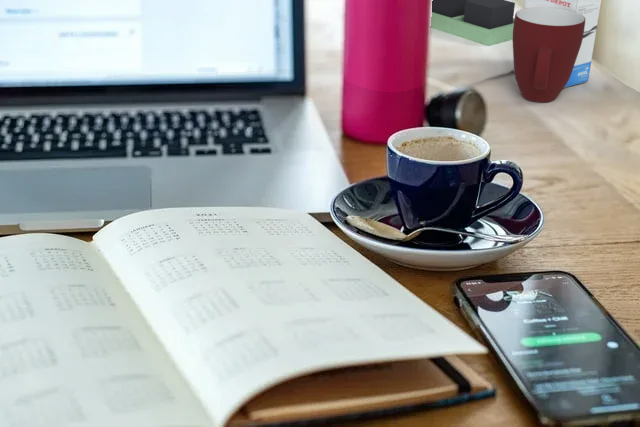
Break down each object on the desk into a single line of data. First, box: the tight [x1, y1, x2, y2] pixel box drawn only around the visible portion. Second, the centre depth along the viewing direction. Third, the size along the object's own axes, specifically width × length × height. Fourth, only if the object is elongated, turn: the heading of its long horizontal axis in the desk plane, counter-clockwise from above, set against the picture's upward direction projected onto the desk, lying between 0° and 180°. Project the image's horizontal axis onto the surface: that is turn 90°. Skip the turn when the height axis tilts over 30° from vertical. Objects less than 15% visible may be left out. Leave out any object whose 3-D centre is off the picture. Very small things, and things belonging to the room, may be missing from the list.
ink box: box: [523, 0, 602, 89], centre depth 111 cm, size 8×5×12 cm, turn 34°
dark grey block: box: [464, 0, 516, 30], centre depth 127 cm, size 5×5×4 cm
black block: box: [432, 0, 468, 18], centre depth 132 cm, size 5×5×4 cm
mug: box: [512, 7, 585, 103], centre depth 104 cm, size 10×8×10 cm
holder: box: [430, 12, 515, 47], centre depth 131 cm, size 15×8×3 cm, turn 40°
